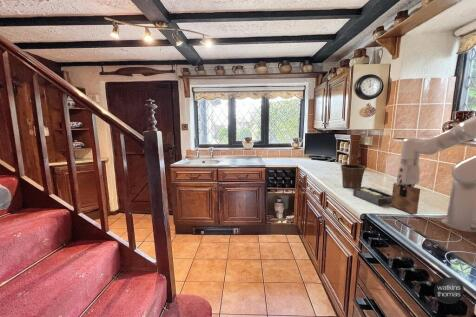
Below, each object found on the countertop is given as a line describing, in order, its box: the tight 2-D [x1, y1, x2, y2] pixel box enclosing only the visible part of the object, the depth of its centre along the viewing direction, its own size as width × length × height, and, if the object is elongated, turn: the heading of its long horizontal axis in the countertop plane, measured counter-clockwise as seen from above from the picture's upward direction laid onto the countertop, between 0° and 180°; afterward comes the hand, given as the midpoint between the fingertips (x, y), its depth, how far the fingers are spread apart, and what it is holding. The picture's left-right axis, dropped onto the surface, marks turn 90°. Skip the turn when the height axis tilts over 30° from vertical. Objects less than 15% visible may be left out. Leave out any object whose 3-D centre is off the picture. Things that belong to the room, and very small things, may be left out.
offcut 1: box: [359, 188, 372, 194], centre depth 139 cm, size 6×4×5 cm, turn 15°
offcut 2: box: [369, 192, 382, 198], centre depth 133 cm, size 6×4×5 cm, turn 16°
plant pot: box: [340, 163, 366, 190], centre depth 163 cm, size 16×16×16 cm
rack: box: [352, 187, 392, 207], centre depth 136 cm, size 18×14×5 cm
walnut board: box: [390, 182, 421, 215], centre depth 119 cm, size 12×3×13 cm, turn 16°
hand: (405, 195), depth 118 cm, fingers closed on walnut board, 3 cm apart
